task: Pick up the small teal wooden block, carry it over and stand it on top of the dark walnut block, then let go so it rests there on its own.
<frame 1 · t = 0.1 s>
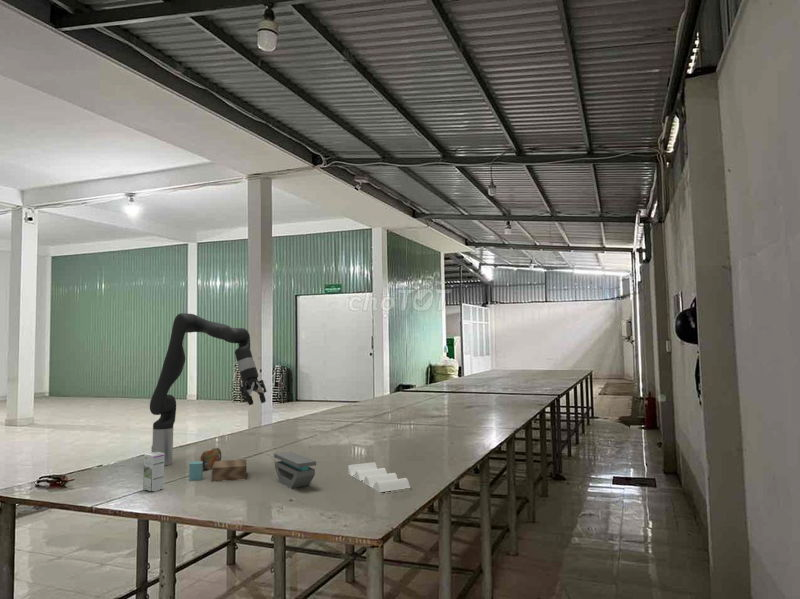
hand: (257, 403, 250), 31 cm above the table, tool tilted 20°, fingers open, 8 cm apart
walnut block: (229, 477, 245), on the table
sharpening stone: (294, 484, 232), on the table
white corrugated sheet: (378, 484, 233), on the table
teal block: (195, 479, 241), on the table
syrup box: (153, 490, 223), on the table
tin: (210, 467, 263), on the table
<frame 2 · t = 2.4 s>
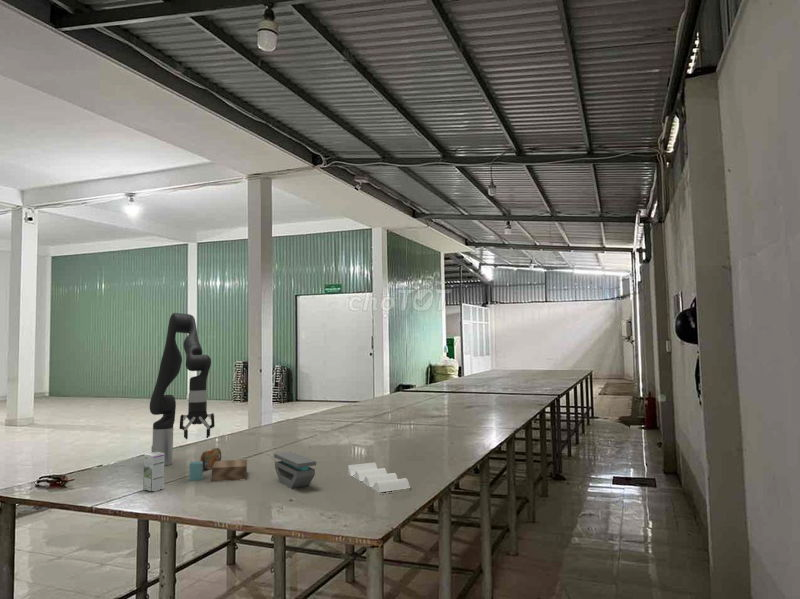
hand: (197, 438, 242), 17 cm above the table, tool pointing down, fingers open, 8 cm apart
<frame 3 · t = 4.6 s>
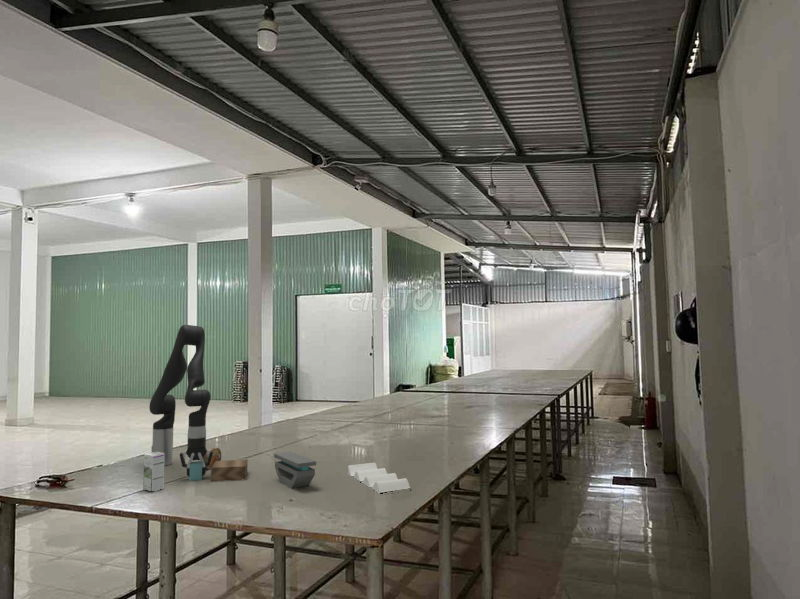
hand: (196, 476, 241), 1 cm above the table, tool pointing down, fingers closed on teal block, 5 cm apart
teal block: (196, 479, 241), on the table, touching gripper
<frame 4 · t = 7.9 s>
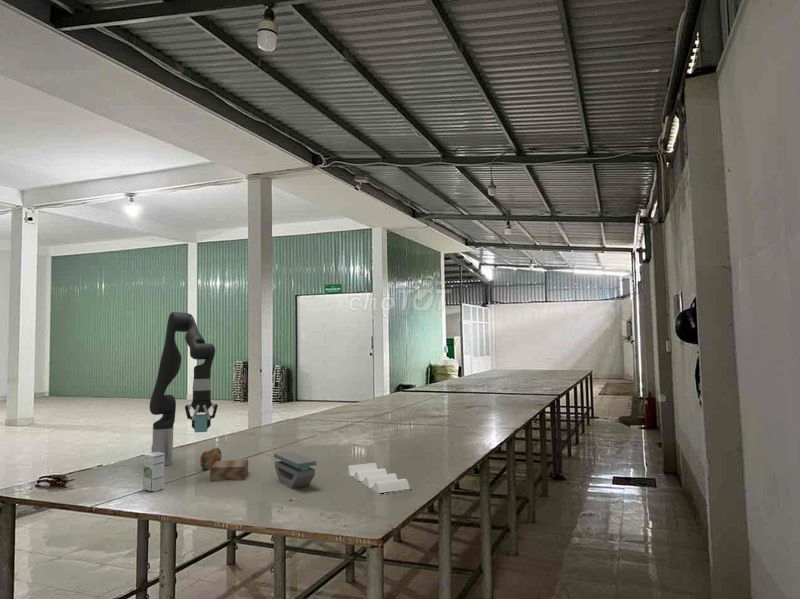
hand: (201, 428, 243), 22 cm above the table, tool pointing down, fingers closed on teal block, 5 cm apart
teal block: (201, 431, 243), point 20 cm above the table, touching gripper
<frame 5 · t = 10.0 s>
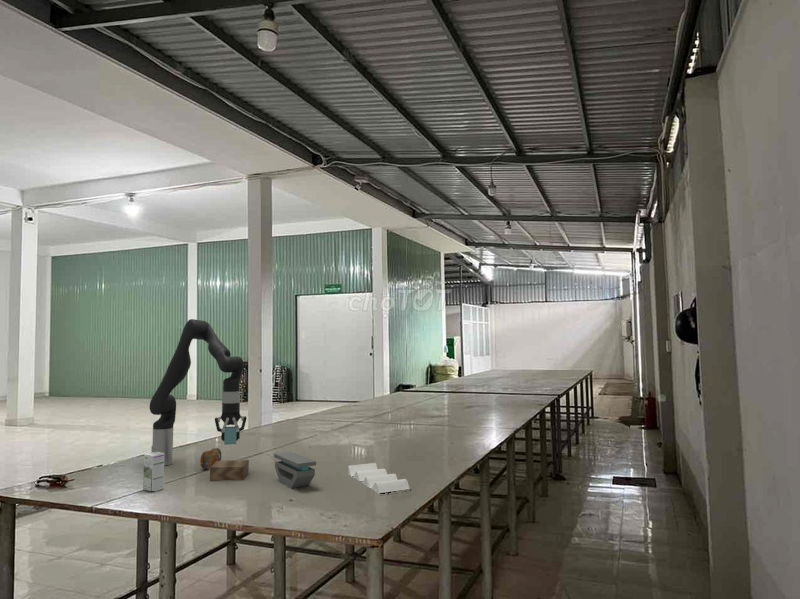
hand: (230, 440, 246), 16 cm above the table, tool pointing down, fingers closed on teal block, 5 cm apart
teal block: (230, 443, 246), point 14 cm above the table, touching gripper
when the fingers open (9 cm above the table, at t = 11.7 s): teal block drops 2 cm, resting on walnut block.
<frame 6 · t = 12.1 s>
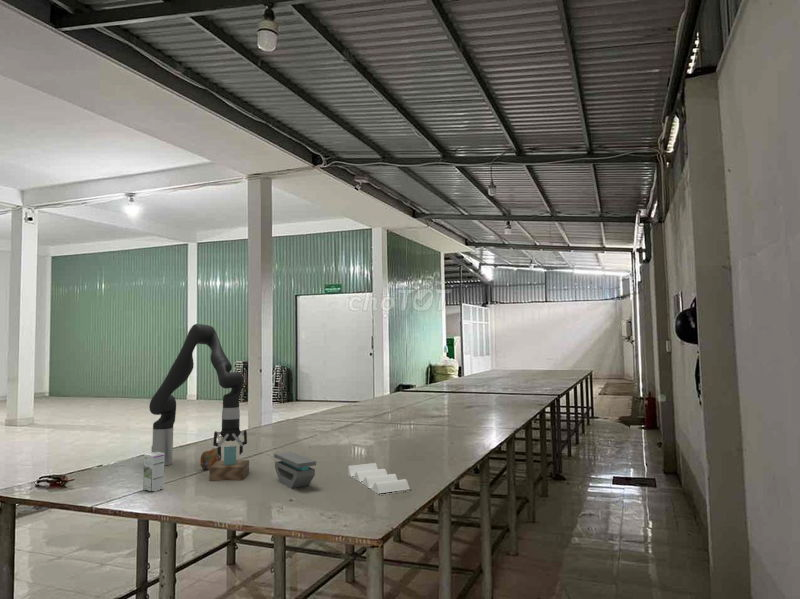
hand: (230, 454, 246), 9 cm above the table, tool pointing down, fingers open, 8 cm apart
walnut block: (229, 477, 245), on the table, touching teal block
teal block: (230, 463, 245), point 6 cm above the table, touching walnut block
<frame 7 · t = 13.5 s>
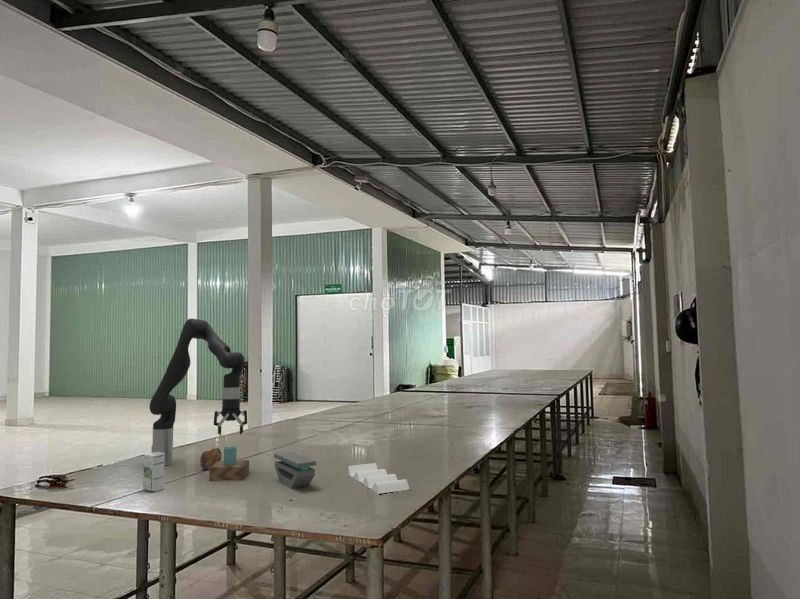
hand: (230, 434, 246), 18 cm above the table, tool pointing down, fingers open, 8 cm apart
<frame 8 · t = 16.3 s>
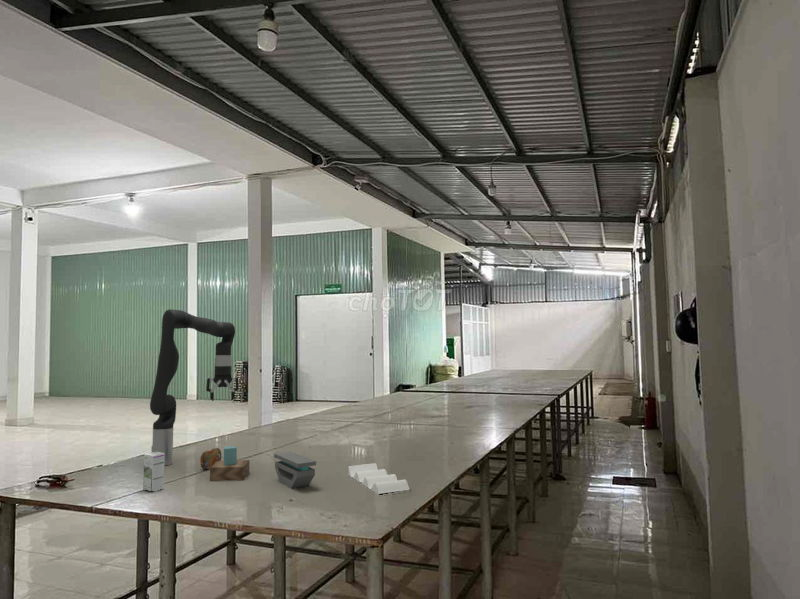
hand: (222, 400, 258), 32 cm above the table, tool pointing down, fingers open, 8 cm apart
at the end: teal block inside the target area on the walnut block (0.2 cm from its centre), point 6.0 cm above the walnut block's base; teal block touching walnut block; teal block tilted 1° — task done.
